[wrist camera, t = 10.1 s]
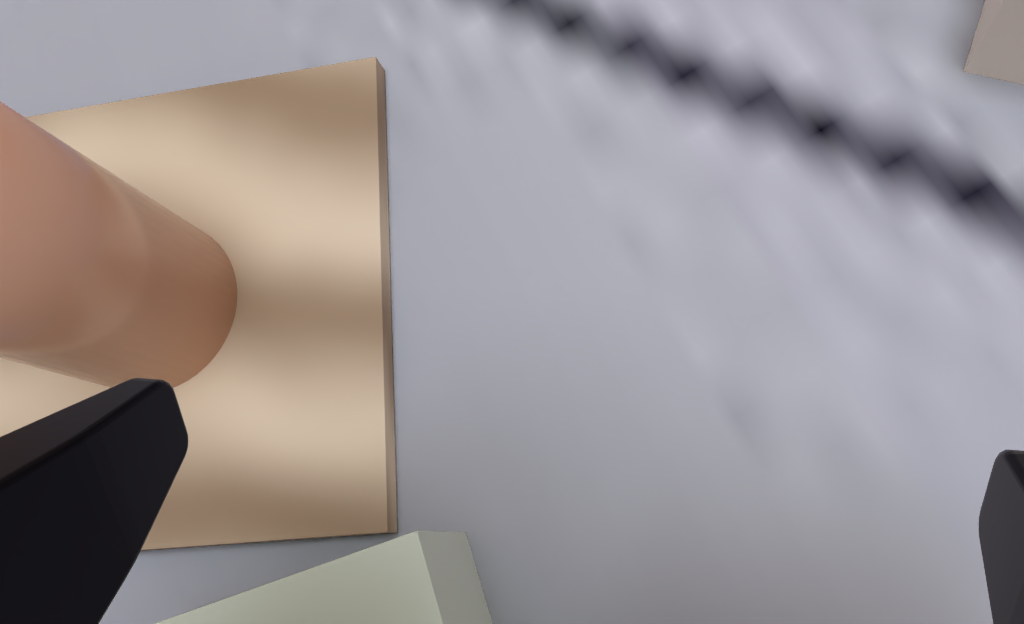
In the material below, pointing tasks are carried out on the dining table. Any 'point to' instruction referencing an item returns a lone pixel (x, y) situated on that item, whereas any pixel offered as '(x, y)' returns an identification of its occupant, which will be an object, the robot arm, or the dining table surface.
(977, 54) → the letter cube
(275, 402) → the plate
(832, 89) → the dining table surface
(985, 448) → the dining table surface
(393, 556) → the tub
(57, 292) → the tan tapered rounded cylinder
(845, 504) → the dining table surface
